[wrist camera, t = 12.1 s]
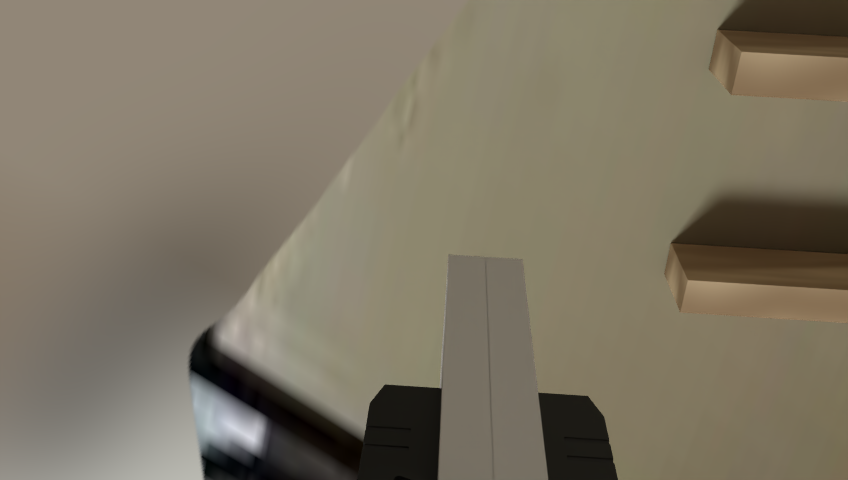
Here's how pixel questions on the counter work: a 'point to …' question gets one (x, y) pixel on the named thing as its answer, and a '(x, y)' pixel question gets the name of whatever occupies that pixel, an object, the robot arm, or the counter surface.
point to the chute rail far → (759, 282)
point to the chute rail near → (781, 65)
